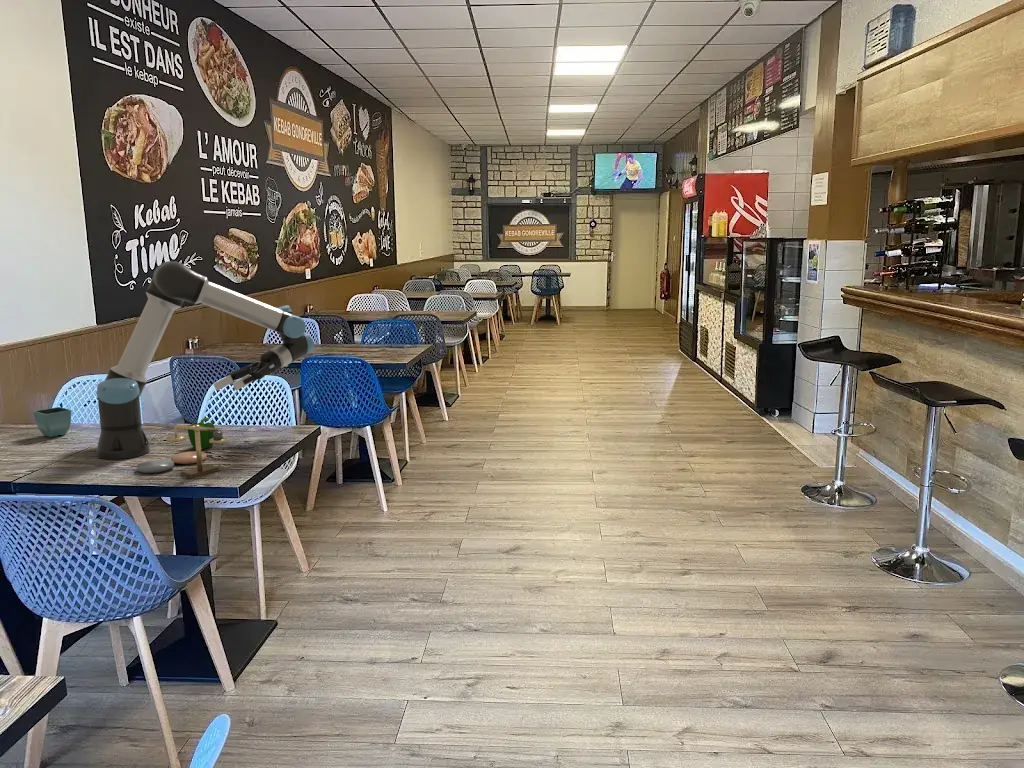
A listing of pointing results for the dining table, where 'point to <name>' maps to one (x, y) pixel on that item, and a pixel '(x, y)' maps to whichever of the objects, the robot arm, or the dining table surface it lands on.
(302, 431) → the dining table surface
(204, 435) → the bell pepper
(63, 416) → the flower pot
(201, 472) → the brass balance
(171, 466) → the slate dish
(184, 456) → the terracotta dish
